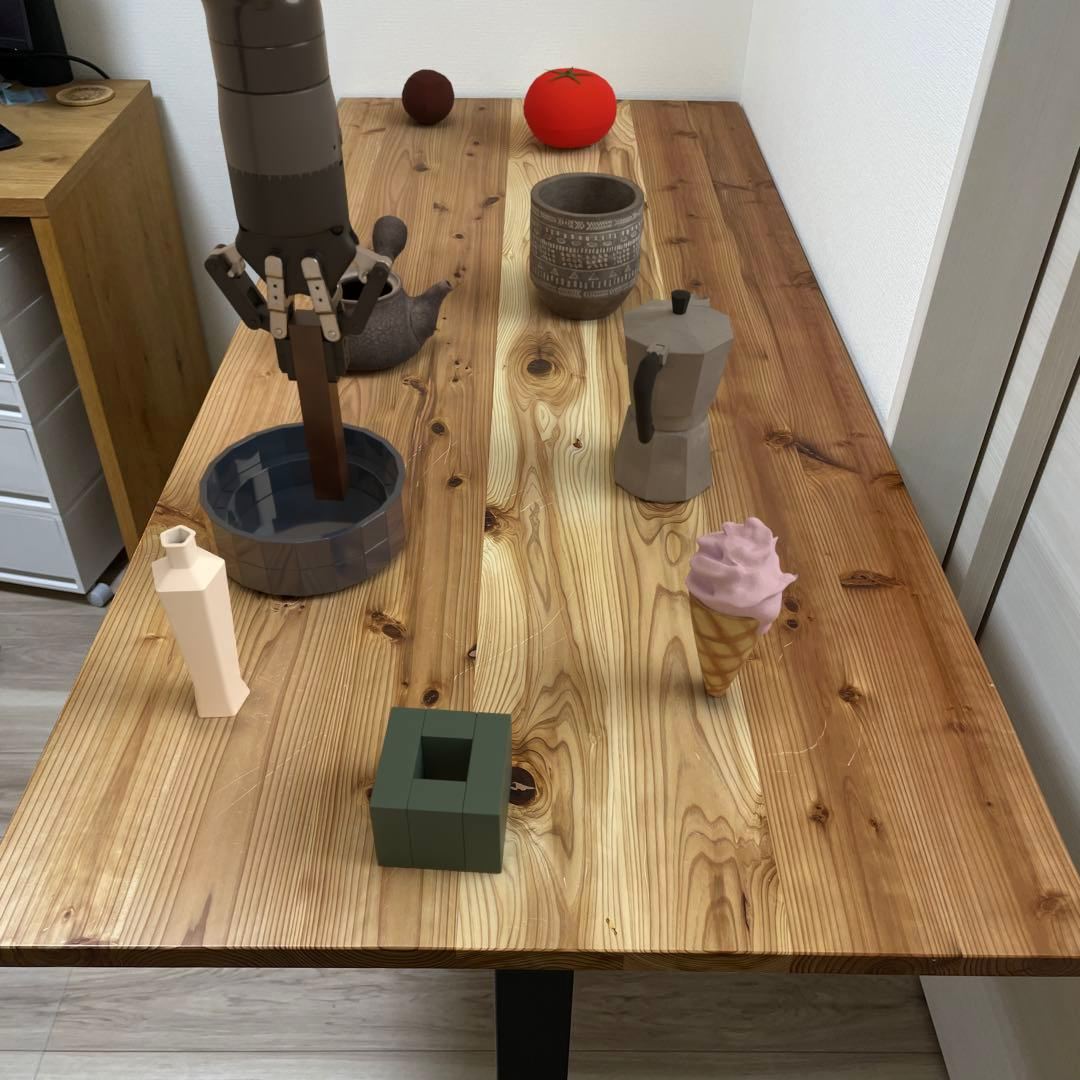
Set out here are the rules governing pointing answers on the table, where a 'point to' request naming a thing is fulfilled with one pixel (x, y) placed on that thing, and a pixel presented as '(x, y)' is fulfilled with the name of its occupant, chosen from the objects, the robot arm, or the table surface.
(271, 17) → the robot arm
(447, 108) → the dark brown ball
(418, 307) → the teapot
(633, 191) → the planter
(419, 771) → the holder
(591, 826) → the table surface
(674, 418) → the coffeepot
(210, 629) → the perfume bottle
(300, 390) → the brown rectangular peg
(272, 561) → the bowl
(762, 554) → the ice cream cone
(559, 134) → the tomato
